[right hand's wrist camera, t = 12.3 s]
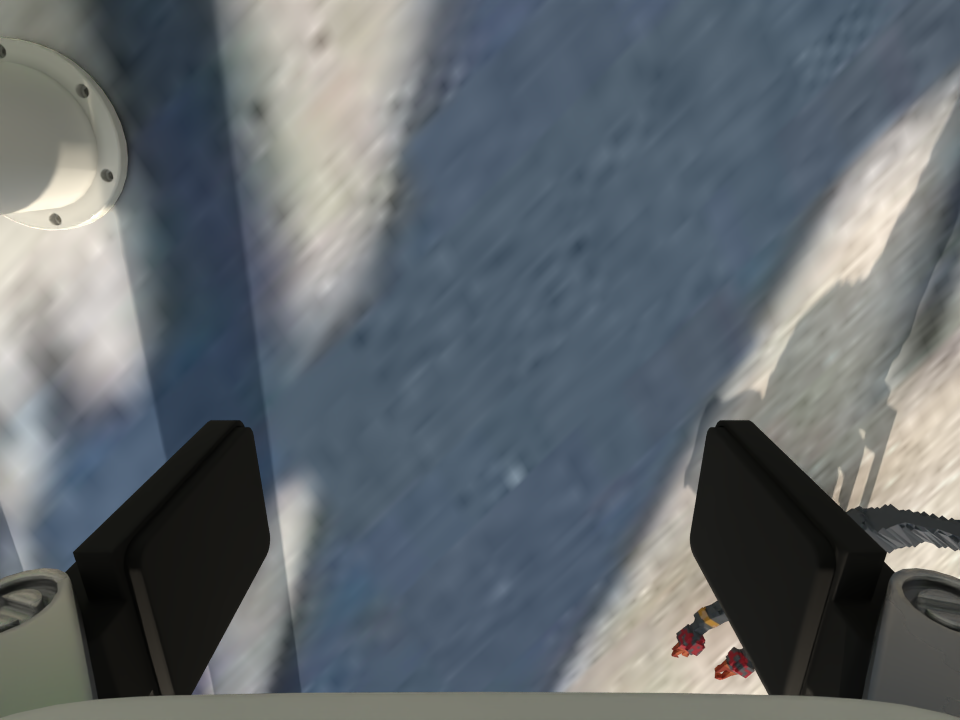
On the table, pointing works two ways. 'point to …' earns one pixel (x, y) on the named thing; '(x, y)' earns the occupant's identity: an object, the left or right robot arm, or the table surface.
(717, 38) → the table surface
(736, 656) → the toy
